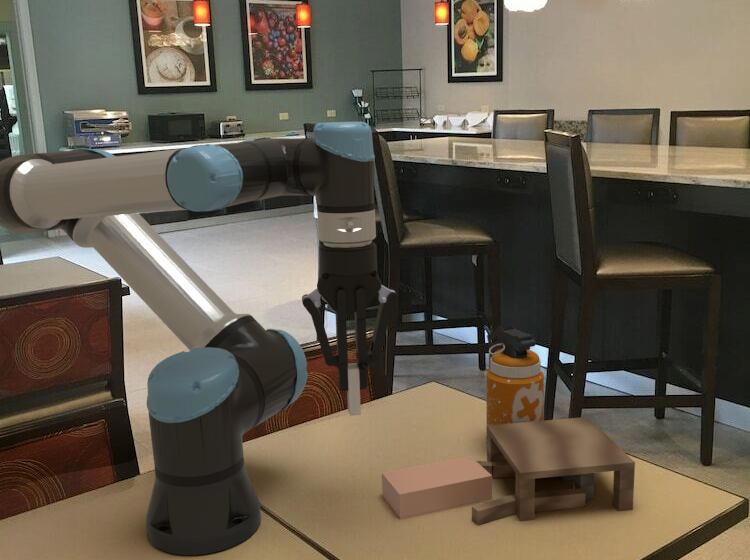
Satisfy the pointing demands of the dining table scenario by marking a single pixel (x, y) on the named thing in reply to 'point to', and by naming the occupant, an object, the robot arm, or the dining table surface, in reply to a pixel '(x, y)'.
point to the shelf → (552, 466)
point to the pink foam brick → (436, 486)
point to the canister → (513, 379)
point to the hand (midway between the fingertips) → (354, 411)
